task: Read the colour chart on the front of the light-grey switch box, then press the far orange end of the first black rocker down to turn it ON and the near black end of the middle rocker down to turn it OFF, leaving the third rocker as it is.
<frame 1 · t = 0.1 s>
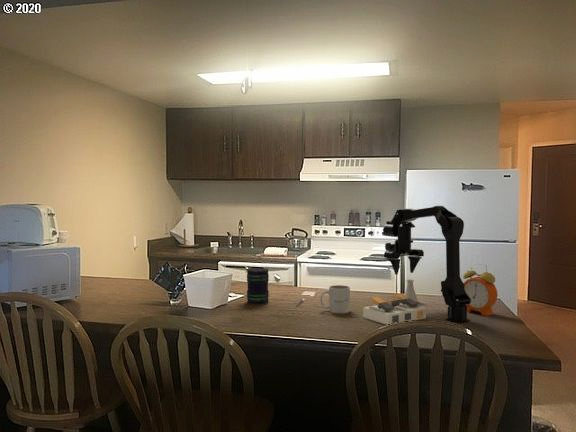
hand: (404, 273, 205), 14 cm above the breakfast bar, fingers open, 9 cm apart
spatula: (303, 301, 220), on the breakfast bar
storage jar: (257, 302, 214), on the breakfast bar
mug: (334, 311, 199), on the breakfast bar
flask: (409, 302, 216), on the breakfast bar
alarm clock: (478, 313, 195), on the breakfast bar
rocker b: (394, 303, 186), point 6 cm above the breakfast bar, hinge at 15.0°
rocker c: (382, 305, 183), point 6 cm above the breakfast bar, hinge at -15.0°
switch box: (394, 317, 187), on the breakfast bar
rocker a: (406, 301, 190), point 6 cm above the breakfast bar, hinge at -15.0°
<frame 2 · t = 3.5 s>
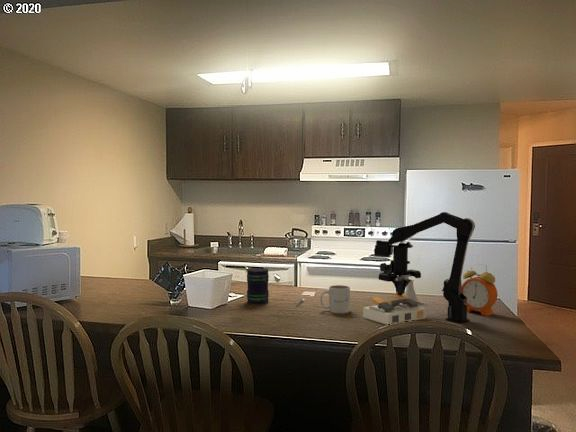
hand: (399, 296, 193), 7 cm above the breakfast bar, fingers closed, pressing on rocker a
rocker a: (406, 301, 190), point 6 cm above the breakfast bar, hinge at -14.7°, touching gripper
everything else where it was.
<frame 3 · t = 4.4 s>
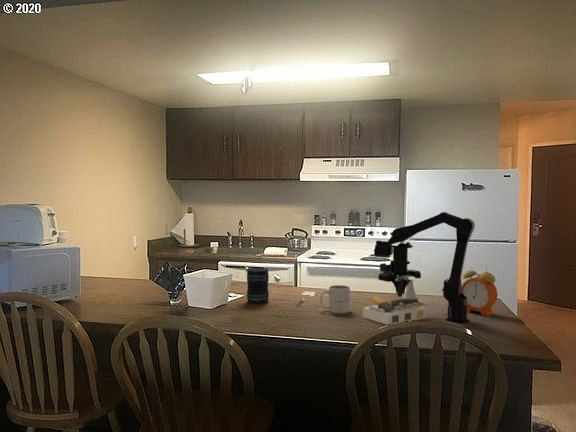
hand: (399, 296, 193), 7 cm above the breakfast bar, fingers closed
rocker a: (406, 301, 190), point 6 cm above the breakfast bar, hinge at 6.5°
everything else where it was.
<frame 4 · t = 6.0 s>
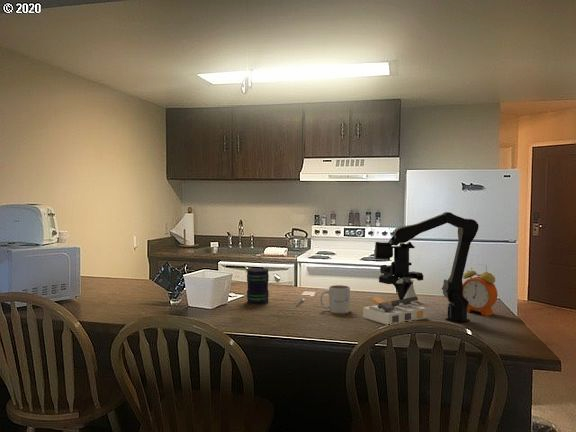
hand: (401, 299, 183), 8 cm above the breakfast bar, fingers closed, pressing on rocker b
rocker b: (394, 303, 186), point 6 cm above the breakfast bar, hinge at 15.0°, touching gripper
rocker a: (406, 301, 190), point 6 cm above the breakfast bar, hinge at 18.3°
everything else where it was.
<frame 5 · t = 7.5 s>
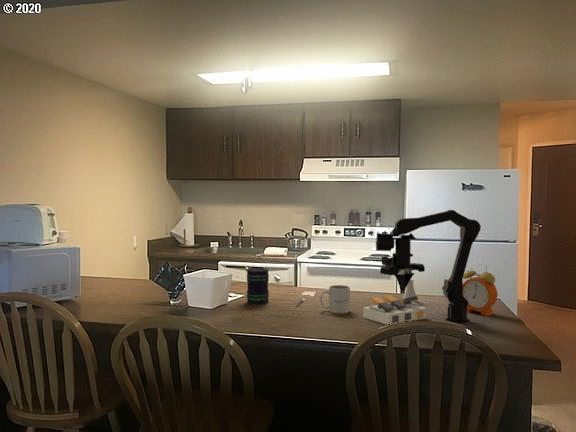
hand: (402, 291, 184), 11 cm above the breakfast bar, fingers closed
rocker b: (394, 303, 187), point 6 cm above the breakfast bar, hinge at -14.9°
rocker a: (406, 301, 190), point 6 cm above the breakfast bar, hinge at 20.4°, touching switch box
everything else where it was.
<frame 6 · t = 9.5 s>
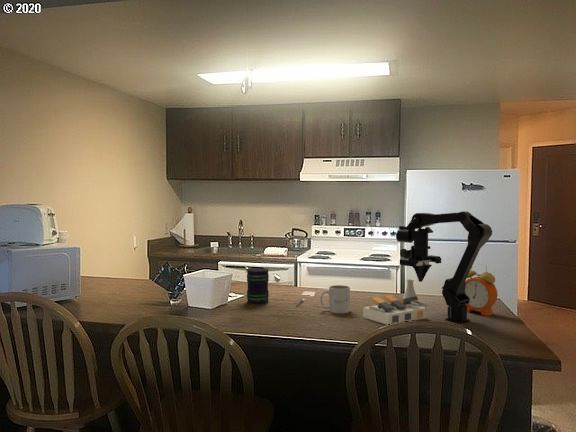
hand: (420, 281, 194), 13 cm above the breakfast bar, fingers closed
rocker b: (394, 303, 187), point 6 cm above the breakfast bar, hinge at -19.0°
rocker a: (406, 301, 190), point 6 cm above the breakfast bar, hinge at 19.7°
everything else where it was.
at the end: rocker a at +20° (first picture: -15°); rocker b at -19° (first picture: +15°); rocker c at -15° (first picture: -15°) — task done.
